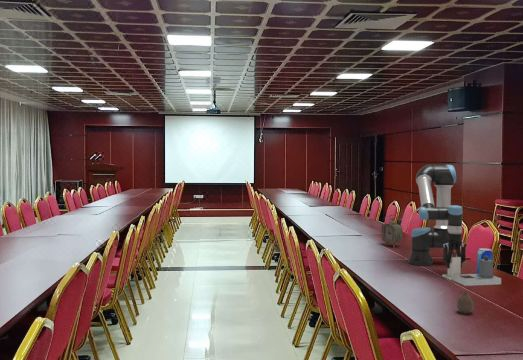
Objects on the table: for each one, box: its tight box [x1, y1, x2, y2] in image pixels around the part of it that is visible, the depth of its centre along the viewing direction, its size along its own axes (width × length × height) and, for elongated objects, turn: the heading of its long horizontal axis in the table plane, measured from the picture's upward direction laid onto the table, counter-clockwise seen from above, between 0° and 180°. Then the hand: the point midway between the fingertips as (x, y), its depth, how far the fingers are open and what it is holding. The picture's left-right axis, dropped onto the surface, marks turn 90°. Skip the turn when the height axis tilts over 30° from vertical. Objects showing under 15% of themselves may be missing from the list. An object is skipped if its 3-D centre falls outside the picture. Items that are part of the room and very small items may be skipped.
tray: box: [441, 273, 453, 281], centre depth 278 cm, size 9×9×2 cm
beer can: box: [476, 247, 494, 274], centre depth 284 cm, size 8×8×16 cm
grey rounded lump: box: [456, 291, 474, 315], centre depth 217 cm, size 7×7×9 cm
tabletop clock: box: [381, 214, 403, 249], centre depth 384 cm, size 14×9×25 cm, turn 25°
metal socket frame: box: [452, 273, 502, 287], centre depth 268 cm, size 12×21×4 cm, turn 100°
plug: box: [447, 251, 462, 278], centre depth 278 cm, size 5×5×14 cm
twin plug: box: [479, 256, 494, 278], centre depth 269 cm, size 5×5×14 cm
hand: (453, 273), depth 278 cm, fingers closed on plug, 5 cm apart
